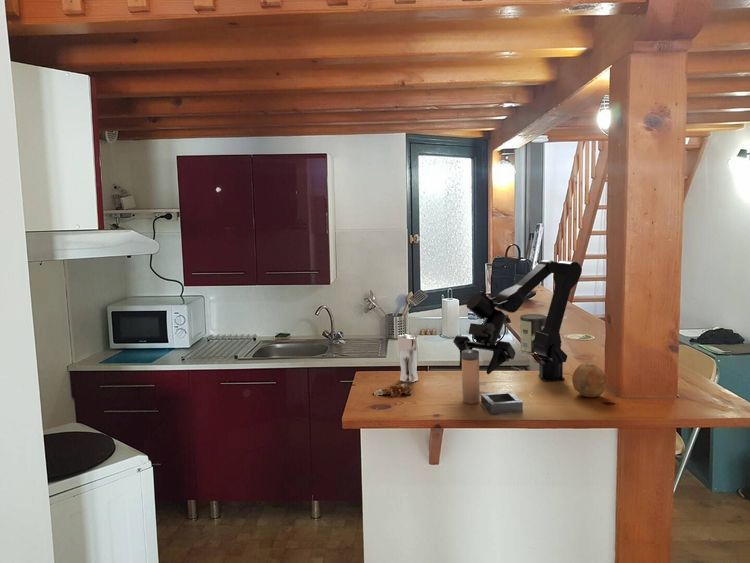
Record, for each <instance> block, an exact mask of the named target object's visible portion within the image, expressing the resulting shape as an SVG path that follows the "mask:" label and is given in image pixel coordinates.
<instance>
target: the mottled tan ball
mask: <svg viewBox="0 0 750 563" xmlns="http://www.w3.org/2000/svg"><path fill="white" fill-rule="evenodd" d="M571 378H572V379H571V380H572V381H571V382H572V384H573V387H574V390H575V391H576V392H577V393H578V394H579V395H581V396H583V397H586V398H595V397H599V396H601V395H602V394H603V393H604V392H605V391H606V389H607V387H608V377H607V374H606V373H605V371H604V370H603V368H601V367H600V366H599V365H596V364H594V363H589V362H588V363H582V364H579V365H578V366H577V367H576V369H575V370H574V372H573V373H572V377H571Z"/></svg>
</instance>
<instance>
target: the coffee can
mask: <svg viewBox="0 0 750 563" xmlns="http://www.w3.org/2000/svg"><path fill="white" fill-rule="evenodd" d="M546 319H547V315H545V314H539V313H529V314H528V313H527V314H522V315H520V316H519V320H520V329H519V330H520V335H519V336H520V353H522V354H525V355H530V356H535V355H534V352H535V350H534V349H533V345H534V343H532V342H533V341H534V338H535V333H536V332H541V331H542V330H543V328H544V326H545V322H546Z"/></svg>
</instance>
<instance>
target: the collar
mask: <svg viewBox="0 0 750 563" xmlns="http://www.w3.org/2000/svg"><path fill="white" fill-rule="evenodd" d="M523 403H524V402H523V401H522V400H521V399H520V398H519V397H518V396H516V395H515V394H514V393H513V392H511V391H502V392H491V393H489V392H488V393H480V404H481V405H482V407H483V408H484V409H485V410H486V411H487V412H488V413H489V414H490V415H491V416H495V415H505V414H506V415H508V414H517V413H523V412H524V411H523V410H524V409H523V408H524V407H523V406H524V405H523Z"/></svg>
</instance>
